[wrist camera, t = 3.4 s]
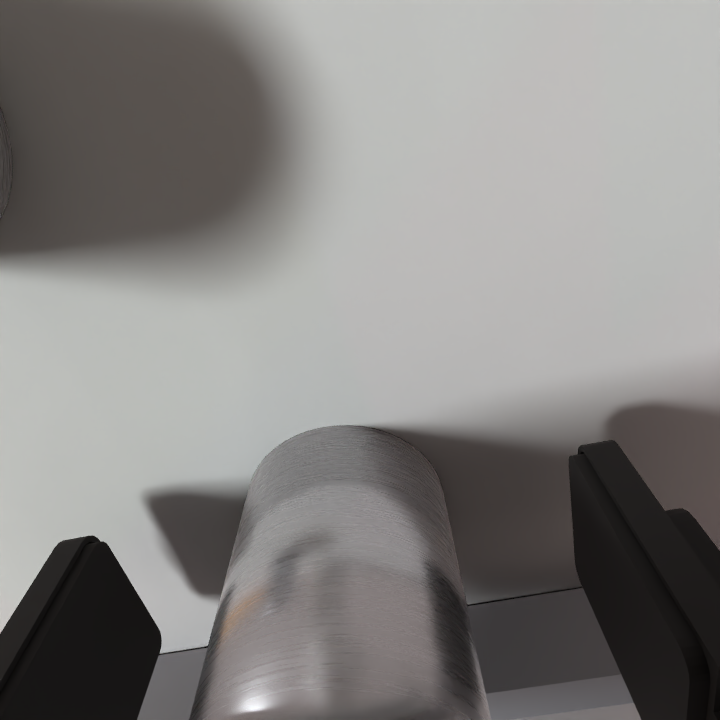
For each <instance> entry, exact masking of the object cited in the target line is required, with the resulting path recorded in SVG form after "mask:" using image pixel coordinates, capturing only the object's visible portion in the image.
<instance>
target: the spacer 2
mask: <svg viewBox="0 0 720 720" xmlns="http://www.w3.org/2000/svg"><path fill="white" fill-rule="evenodd" d="M189 720H491V717H490V712H489V707H488V702H487V698H486V693H485V688H484V683H483V679H482V674H481V669H480V664H479V660H478V655H477V650H476V645H475V641H474V636H473V631H472V626H471V622H470V617H469V612H468V607H467V603H466V598H465V593H464V588H463V584H462V579H461V574H460V569H459V565H458V560H457V555H456V550H455V546H454V541H453V536H452V531H451V527H450V522H449V517H448V512H447V508H446V503H445V498H444V493H443V489H442V485H441V482H440V479H439V477H438V475H437V473H436V471H435V469H434V468H433V466H432V465H431V463H430V462H429V461H428V460H427V458H426V457H425V456H424V455H423V454H422V453H421V452H420V451H418V450H417V449H416V448H415V447H413V446H412V445H411V444H409V443H407V442H406V441H404V440H402V439H401V438H398V437H396V436H394V435H392V434H390V433H387V432H383V431H380V430H377V429H373V428H367V427H362V426H350V425H346V426H330V427H322V428H318V429H314V430H310V431H307V432H304V433H301V434H299V435H296V436H294V437H292V438H290V439H288V440H286V441H285V442H283V443H282V444H280V445H279V446H277V447H276V448H275V449H273V450H272V451H271V452H270V453H269V454H268V455H267V456H266V457H265V458H264V459H263V461H262V462H261V463H260V464H259V466H258V467H257V469H256V471H255V473H254V474H253V477H252V479H251V482H250V485H249V489H248V493H247V496H246V500H245V504H244V508H243V512H242V516H241V520H240V524H239V528H238V531H237V535H236V539H235V543H234V547H233V551H232V555H231V559H230V563H229V566H228V570H227V574H226V578H225V582H224V586H223V590H222V594H221V598H220V601H219V605H218V609H217V613H216V617H215V621H214V625H213V629H212V632H211V636H210V640H209V644H208V648H207V652H206V656H205V660H204V664H203V667H202V671H201V675H200V679H199V683H198V687H197V691H196V695H195V699H194V702H193V706H192V710H191V714H190V718H189Z"/></svg>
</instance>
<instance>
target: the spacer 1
mask: <svg viewBox="0 0 720 720" xmlns="http://www.w3.org/2000/svg"><path fill="white" fill-rule="evenodd" d="M12 173H13V164H12V150H11V144H10V138H9V133H8V129H7V126H6V123H5V119H4V116H3V113H2V110H1V108H0V218H1V217H2V215H3V212H4V210H5V207H6V205H7V203H8V199H9V195H10V190H11V185H12Z"/></svg>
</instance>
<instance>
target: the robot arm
mask: <svg viewBox="0 0 720 720" xmlns="http://www.w3.org/2000/svg"><path fill="white" fill-rule="evenodd" d="M569 476H570V491H571V507H572V522H573V537H574V553H575V565H576V570H577V573H578V577H579V580H580V582H581V585H582V587H583V589H584V592H585V594H586V596H587V598H588V601H589V603H590V605H591V607H592V610H593V612H594V614H595V616H596V619H597V621H598V623H599V625H600V628H601V630H602V632H603V634H604V637H605V639H606V641H607V643H608V646H609V648H610V650H611V652H612V655H613V657H614V659H615V661H616V664H617V666H618V668H619V670H620V673H621V675H622V677H623V679H624V682H625V684H626V686H627V688H628V691H629V693H630V695H631V697H632V700H633V702H634V704H635V707H636V709H637V711H638V713H639V716H640V718H641V720H720V551H719V550H718V548H717V547H716V546H715V544H714V543H713V542H712V540H711V539H710V538H709V536H708V535H707V534H706V533H705V531H704V530H703V529H702V527H701V526H700V525H699V523H698V522H697V521H696V519H695V518H694V517H693V516H692V515H691V514H690V513H689V512H688V511H686V510H684V509H683V508H682V509H674V510H668V511H665V510H664V509H663V508H662V506H661V505H660V503H659V502H658V501H657V499H656V498H655V496H654V495H653V494H652V492H651V491H650V489H649V488H648V486H647V485H646V484H645V482H644V481H643V479H642V478H641V477H640V475H639V474H638V472H637V471H636V470H635V468H634V467H633V465H632V464H631V463H630V461H629V460H628V458H627V457H626V455H625V454H624V453H623V451H622V450H621V448H620V447H619V446H618V444H617V443H616V442H615V441H613V440H608V441H603V442H598V443H592V444H587V445H581V446H579V448H578V455H574V456H570V457H569ZM160 649H161V633H160V631H159V629H158V627H157V625H156V624H155V622H154V620H153V619H152V617H151V615H150V614H149V612H148V610H147V609H146V607H145V605H144V604H143V602H142V600H141V599H140V597H139V595H138V594H137V592H136V591H135V589H134V587H133V586H132V584H131V582H130V581H129V579H128V577H127V576H126V574H125V572H124V571H123V569H122V567H121V566H120V564H119V562H118V561H117V559H116V557H115V556H114V554H113V553H112V551H111V549H110V548H109V546H108V545H107V544H106V543H105V542H100V540H99V539H98V538H97V537H95V536H86V537H80V538H75V539H69V540H64V541H62V542H60V543H58V545H57V546H56V547H55V548H54V550H53V551H52V553H51V555H50V556H49V558H48V559H47V561H46V562H45V564H44V566H43V567H42V569H41V570H40V572H39V573H38V575H37V577H36V578H35V580H34V581H33V583H32V585H31V586H30V588H29V589H28V591H27V592H26V594H25V596H24V597H23V599H22V600H21V602H20V603H19V605H18V607H17V608H16V610H15V611H14V613H13V615H12V616H11V618H10V619H9V621H8V622H7V624H6V626H5V627H4V629H3V630H2V632H1V634H0V720H137V718H138V715H139V712H140V709H141V706H142V704H143V701H144V698H145V695H146V692H147V689H148V686H149V683H150V680H151V677H152V674H153V671H154V668H155V665H156V662H157V659H158V656H159V653H160Z"/></svg>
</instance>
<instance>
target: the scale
mask: <svg viewBox="0 0 720 720" xmlns="http://www.w3.org/2000/svg"><path fill="white" fill-rule="evenodd" d="M467 607H468V612H469V617H470V622H471V626H472V631H473V636H474V641H475V645H476V650H477V655H478V660H479V664H480V669H481V674H482V679H483V683H484V688H485V693H486V698H487V702H488V707H489V712H490V717H491V720H641V718H640V716H639V713H638V711H637V709H636V707H635V704H634V702H633V700H632V697H631V695H630V693H629V691H628V688H627V686H626V684H625V682H624V679H623V677H622V675H621V673H620V670H619V668H618V666H617V664H616V661H615V659H614V657H613V655H612V652H611V650H610V648H609V646H608V643H607V641H606V639H605V637H604V634H603V632H602V630H601V628H600V625H599V623H598V621H597V619H596V616H595V614H594V612H593V610H592V607H591V605H590V603H589V601H588V598H587V596H586V594H585V592H584V589H583V588H579V589H573V590H567V591H560V592H554V593H548V594H541V595H535V596H529V597H523V598H516V599H510V600H504V601H497V602H491V603H485V604H479V605H472V606H467ZM206 652H207V648H202V649H196V650H189V651H183V652H177V653H171V654H164V655H159V656H158V659H157V662H156V665H155V668H154V671H153V674H152V677H151V680H150V683H149V686H148V689H147V692H146V695H145V698H144V701H143V704H142V706H141V709H140V712H139V715H138V718H137V720H189V718H190V714H191V710H192V706H193V702H194V699H195V695H196V691H197V687H198V683H199V679H200V675H201V671H202V667H203V664H204V660H205V656H206Z"/></svg>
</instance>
